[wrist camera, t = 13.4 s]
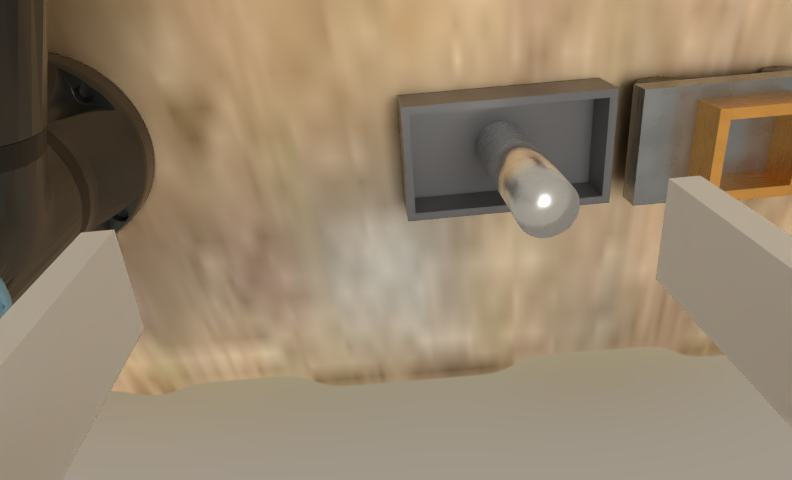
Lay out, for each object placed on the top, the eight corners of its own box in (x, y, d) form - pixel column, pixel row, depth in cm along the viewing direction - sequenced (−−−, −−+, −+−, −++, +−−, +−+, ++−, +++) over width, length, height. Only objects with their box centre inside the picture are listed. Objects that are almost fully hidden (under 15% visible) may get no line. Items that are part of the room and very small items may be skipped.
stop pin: (475, 171, 50) (514, 240, 38) (475, 123, 48) (515, 181, 37) (524, 166, 50) (577, 234, 39) (525, 118, 48) (581, 174, 37)
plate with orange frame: (608, 183, 52) (649, 221, 45) (617, 76, 48) (664, 99, 41) (780, 167, 53) (848, 202, 45) (803, 59, 49) (882, 80, 41)
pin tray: (404, 201, 52) (408, 221, 48) (396, 95, 48) (400, 107, 44) (591, 184, 52) (609, 202, 49) (599, 77, 48) (619, 88, 45)
